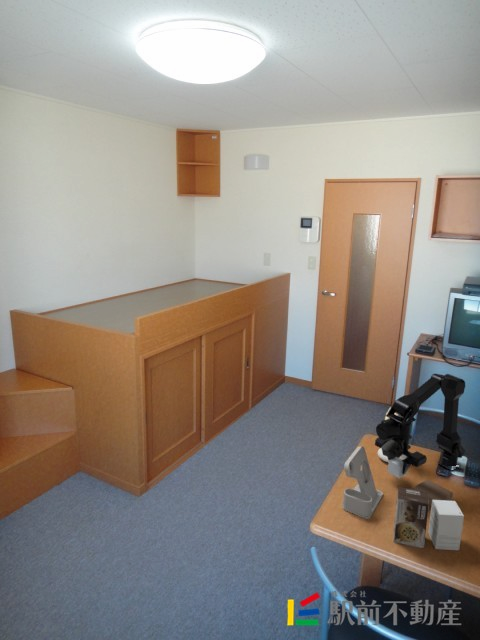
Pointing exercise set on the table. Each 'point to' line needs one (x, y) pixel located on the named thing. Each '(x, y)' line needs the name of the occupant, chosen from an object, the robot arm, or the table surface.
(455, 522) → the supplement box
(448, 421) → the robot arm
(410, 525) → the coffee box
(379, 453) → the flower in vase
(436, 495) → the brown block
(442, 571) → the table surface
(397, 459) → the grey-blue block
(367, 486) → the phone holder
